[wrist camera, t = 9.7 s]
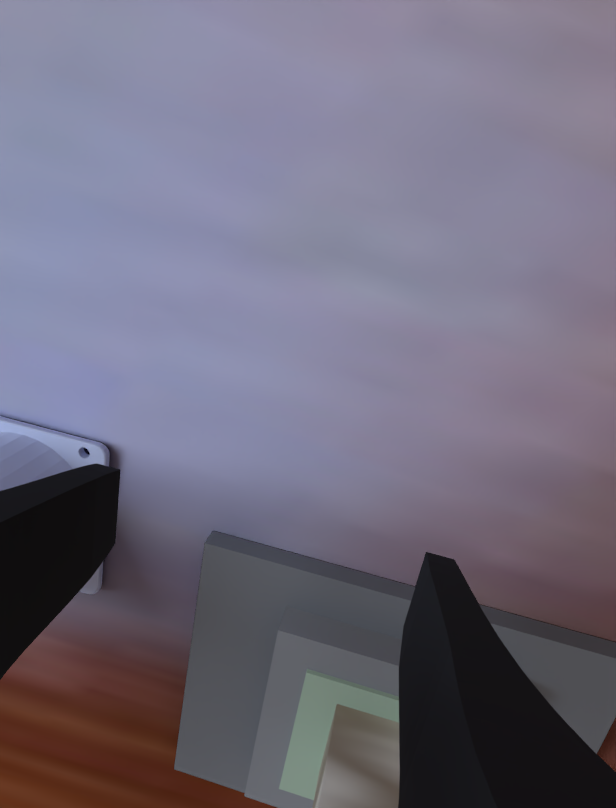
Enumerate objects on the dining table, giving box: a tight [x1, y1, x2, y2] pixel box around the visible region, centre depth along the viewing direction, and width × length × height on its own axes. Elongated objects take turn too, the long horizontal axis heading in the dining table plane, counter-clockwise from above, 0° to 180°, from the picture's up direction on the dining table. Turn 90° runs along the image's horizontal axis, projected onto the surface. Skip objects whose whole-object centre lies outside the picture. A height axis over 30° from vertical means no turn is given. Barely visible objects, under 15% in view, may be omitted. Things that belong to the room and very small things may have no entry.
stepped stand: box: [174, 531, 616, 808], centre depth 25 cm, size 18×14×3 cm
